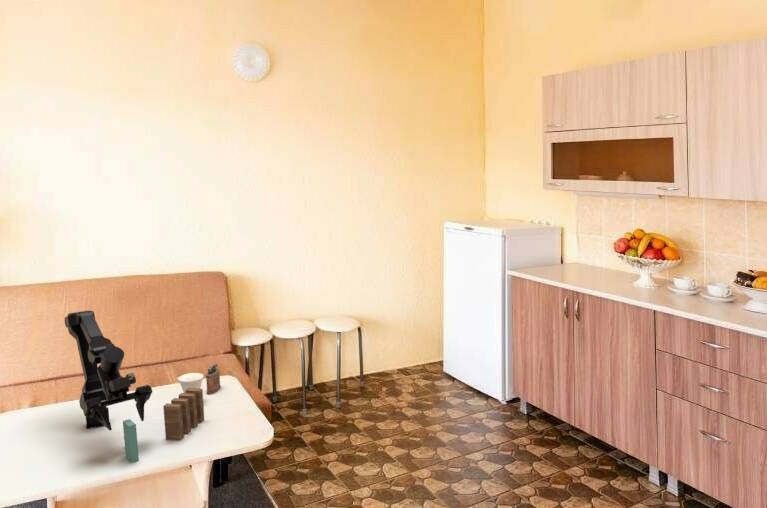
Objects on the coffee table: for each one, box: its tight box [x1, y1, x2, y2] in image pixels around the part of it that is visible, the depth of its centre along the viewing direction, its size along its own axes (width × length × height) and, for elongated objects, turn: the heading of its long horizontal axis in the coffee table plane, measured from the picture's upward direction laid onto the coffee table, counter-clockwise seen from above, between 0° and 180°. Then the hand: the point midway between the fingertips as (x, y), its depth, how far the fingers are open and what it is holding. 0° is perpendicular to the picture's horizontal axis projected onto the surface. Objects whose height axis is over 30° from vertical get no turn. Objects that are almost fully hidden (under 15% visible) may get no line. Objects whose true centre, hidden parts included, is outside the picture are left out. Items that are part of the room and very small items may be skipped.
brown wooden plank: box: [178, 392, 199, 429], centre depth 197 cm, size 2×5×11 cm, turn 79°
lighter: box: [205, 362, 222, 396], centre depth 230 cm, size 8×3×10 cm, turn 168°
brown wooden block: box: [170, 397, 192, 435], centre depth 193 cm, size 2×5×11 cm, turn 79°
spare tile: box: [122, 418, 140, 463], centre depth 176 cm, size 2×5×11 cm, turn 42°
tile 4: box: [162, 403, 185, 441], centre depth 189 cm, size 2×5×11 cm, turn 79°
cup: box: [176, 372, 205, 393], centre depth 218 cm, size 9×9×10 cm
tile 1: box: [186, 388, 205, 424], centre depth 202 cm, size 2×5×11 cm, turn 79°
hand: (127, 425), depth 177 cm, fingers open, 9 cm apart
